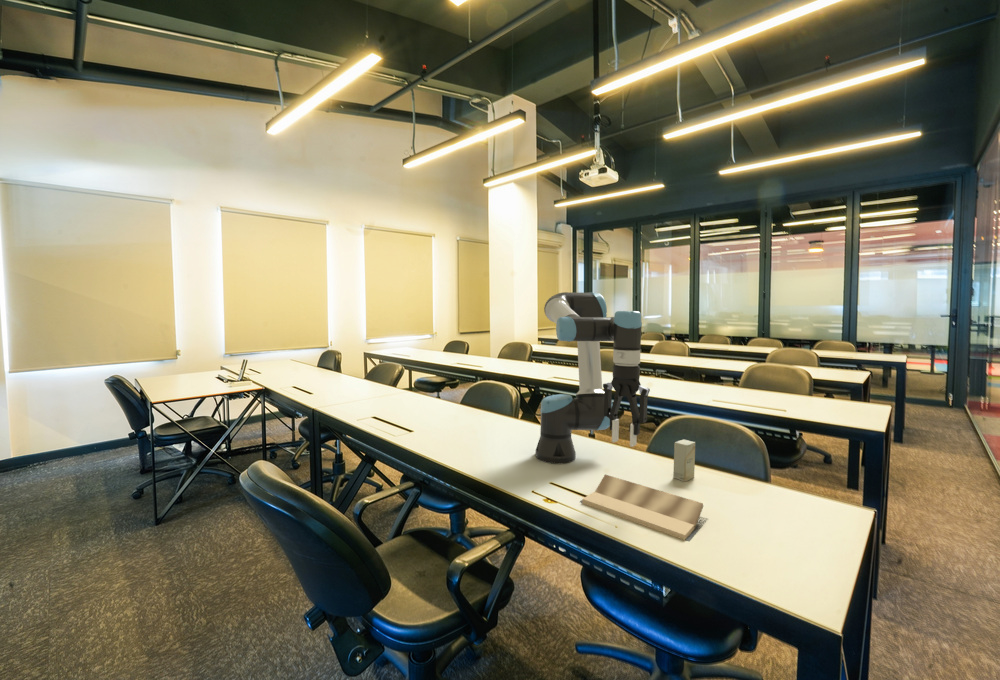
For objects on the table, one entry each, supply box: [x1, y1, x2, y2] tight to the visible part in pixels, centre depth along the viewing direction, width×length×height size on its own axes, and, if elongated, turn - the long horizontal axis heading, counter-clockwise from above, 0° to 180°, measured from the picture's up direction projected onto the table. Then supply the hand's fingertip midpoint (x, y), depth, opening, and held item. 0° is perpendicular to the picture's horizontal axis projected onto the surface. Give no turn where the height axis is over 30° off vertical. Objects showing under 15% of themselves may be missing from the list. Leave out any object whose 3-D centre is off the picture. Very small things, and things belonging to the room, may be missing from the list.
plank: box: [594, 474, 704, 528], centre depth 116 cm, size 28×7×1 cm
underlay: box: [579, 491, 709, 542], centre depth 114 cm, size 30×15×2 cm, turn 48°
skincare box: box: [672, 438, 696, 482], centre depth 140 cm, size 6×4×12 cm
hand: (623, 443), depth 122 cm, fingers open, 5 cm apart
